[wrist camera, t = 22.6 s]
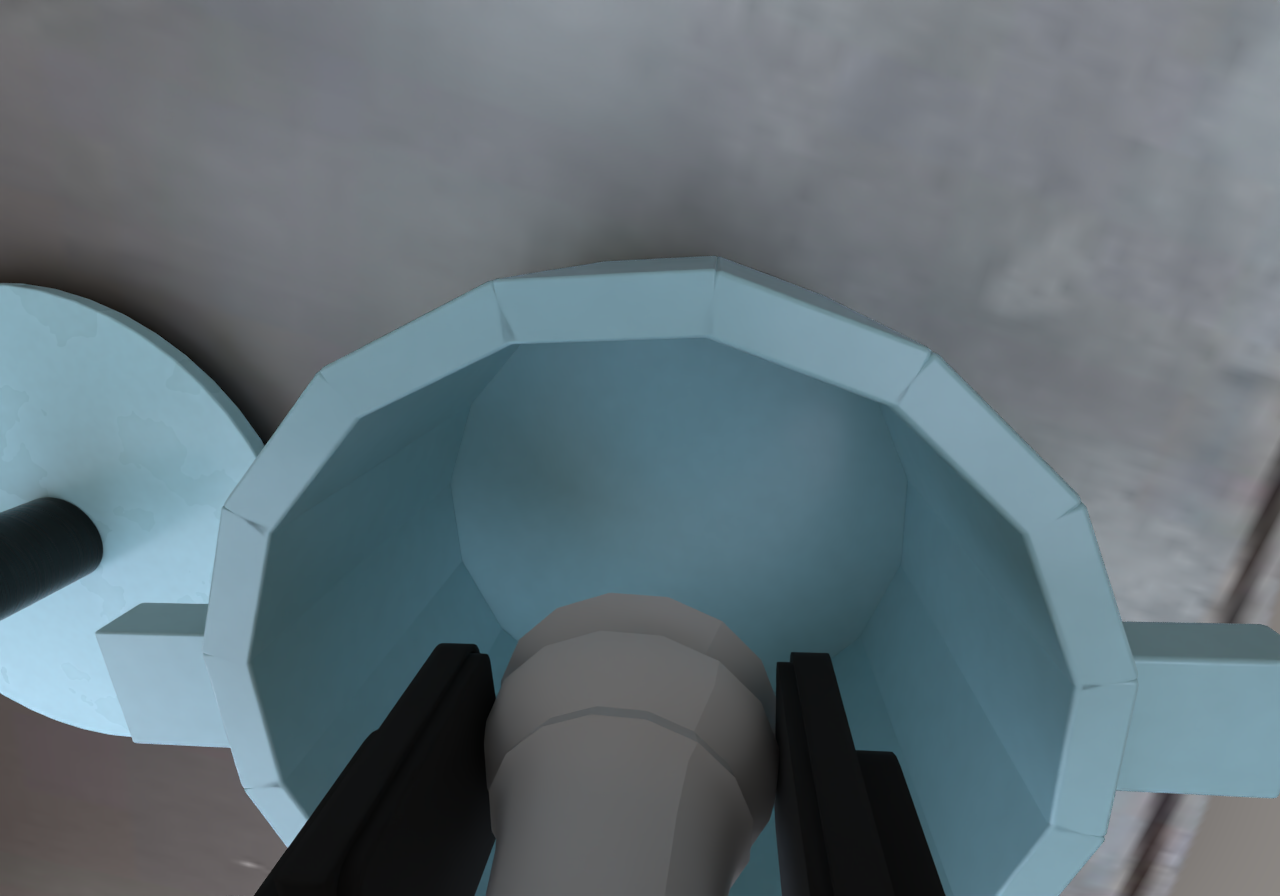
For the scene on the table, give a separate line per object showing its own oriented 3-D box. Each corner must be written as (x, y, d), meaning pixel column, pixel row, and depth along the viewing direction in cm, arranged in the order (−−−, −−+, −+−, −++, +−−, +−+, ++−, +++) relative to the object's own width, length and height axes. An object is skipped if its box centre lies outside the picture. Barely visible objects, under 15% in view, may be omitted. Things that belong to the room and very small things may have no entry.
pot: (301, 276, 17) (-81, 307, 9) (1080, 236, 14) (1542, 227, 6) (388, 706, 21) (182, 996, 13) (1007, 730, 18) (1231, 1107, 10)
